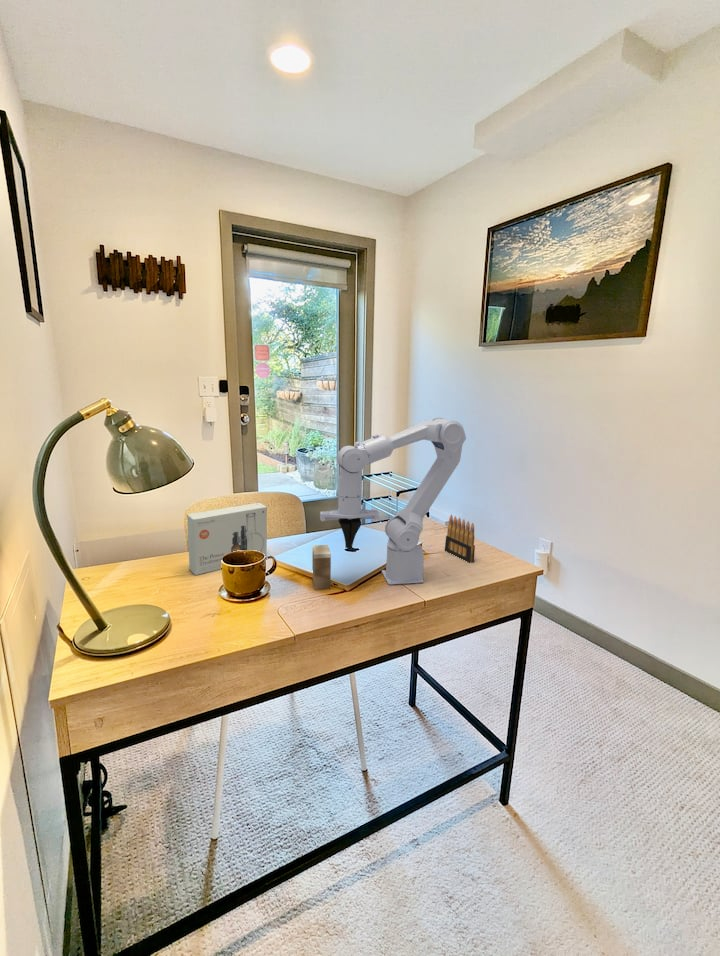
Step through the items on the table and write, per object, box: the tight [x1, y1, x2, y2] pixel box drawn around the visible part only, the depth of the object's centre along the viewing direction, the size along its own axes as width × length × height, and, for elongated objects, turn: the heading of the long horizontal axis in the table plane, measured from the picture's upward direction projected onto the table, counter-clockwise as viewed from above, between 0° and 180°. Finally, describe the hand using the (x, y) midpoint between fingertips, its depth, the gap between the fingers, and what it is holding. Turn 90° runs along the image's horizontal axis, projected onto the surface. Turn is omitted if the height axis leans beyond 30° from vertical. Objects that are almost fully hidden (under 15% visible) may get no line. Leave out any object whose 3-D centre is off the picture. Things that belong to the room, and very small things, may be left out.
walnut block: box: [311, 544, 332, 591], centre depth 112 cm, size 4×6×10 cm, turn 11°
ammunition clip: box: [444, 514, 476, 564], centre depth 133 cm, size 11×2×12 cm, turn 32°
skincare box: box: [186, 502, 268, 576], centre depth 122 cm, size 21×6×16 cm, turn 129°
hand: (348, 546), depth 112 cm, fingers closed
